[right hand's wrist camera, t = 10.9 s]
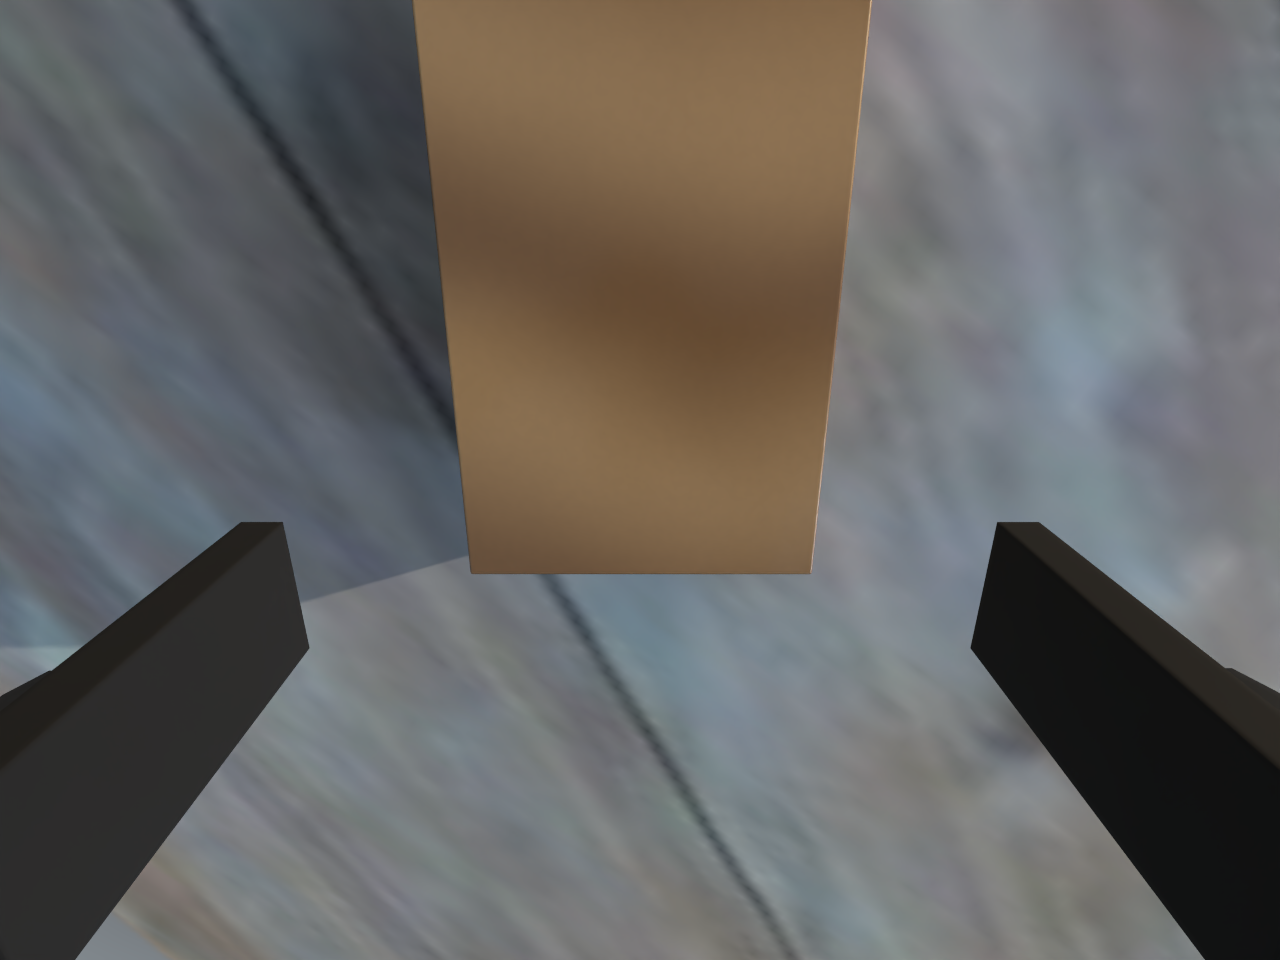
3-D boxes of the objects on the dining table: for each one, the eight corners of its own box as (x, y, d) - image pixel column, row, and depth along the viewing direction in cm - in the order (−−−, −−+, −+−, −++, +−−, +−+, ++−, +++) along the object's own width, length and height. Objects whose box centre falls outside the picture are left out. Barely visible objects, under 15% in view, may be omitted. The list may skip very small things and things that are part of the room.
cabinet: (481, -41, 22) (391, -182, 14) (800, -40, 22) (891, -182, 14) (517, 472, 28) (470, 574, 21) (763, 472, 28) (811, 574, 21)
